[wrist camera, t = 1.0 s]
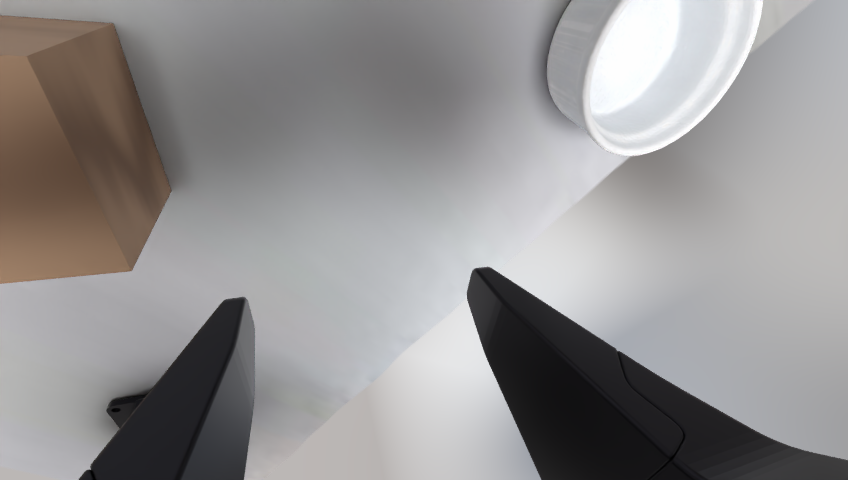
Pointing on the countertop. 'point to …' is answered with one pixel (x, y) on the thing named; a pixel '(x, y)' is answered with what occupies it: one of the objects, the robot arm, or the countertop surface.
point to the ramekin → (647, 66)
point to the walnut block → (72, 153)
